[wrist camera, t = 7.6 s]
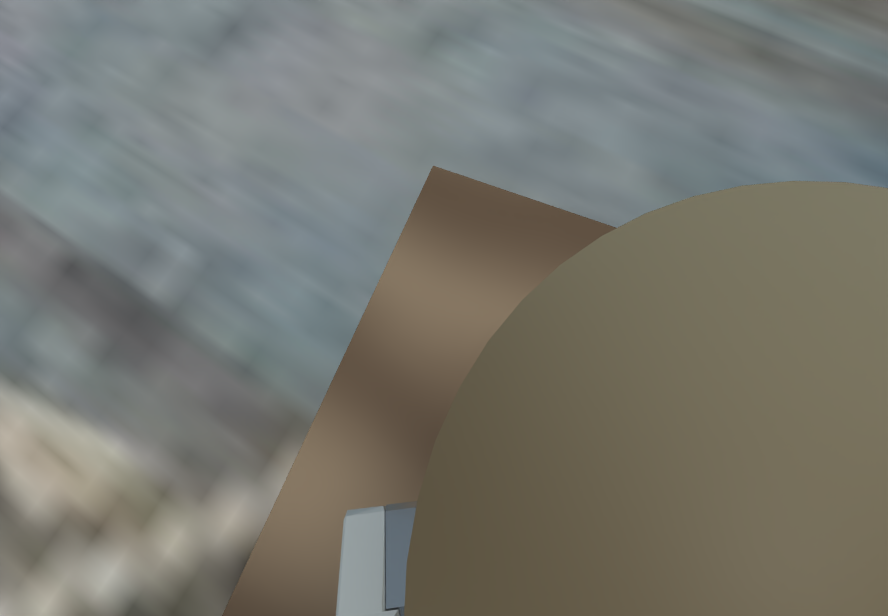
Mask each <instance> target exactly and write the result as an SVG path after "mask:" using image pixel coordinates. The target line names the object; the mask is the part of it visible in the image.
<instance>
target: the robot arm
mask: <svg viewBox="0 0 888 616" xmlns="http://www.w3.org/2000/svg"><path fill="white" fill-rule="evenodd" d="M416 505H417V501H412V502H403V503H395V504H387V505H386V506H378V507H369V508H361V509H353V510H347V513H346V515H345V517H344V522H343V534H342V546H341V558H340V571H339V583H338V595H337V607H336V616H404V608H405V587H406V566H407V558H408V552H409V546H410V540H411V534H412V529H413V523H414V517H415V511H416Z"/></svg>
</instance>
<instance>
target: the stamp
mask: <svg viewBox="0 0 888 616" xmlns="http://www.w3.org/2000/svg"><path fill="white" fill-rule="evenodd" d="M404 616H888V188H883V187H875V186H868V185H861V184H854V183H846V182H812V181H788V182H777V183H767V184H756V185H745V186H739V187H734V188H730V189H725V190H720V191H716V192H711V193H707V194H702V195H698V196H693V197H690V198H687V199H685V200H682V201H679V202H676V203H673V204H671V205H668V206H665V207H662V208H659V209H657V210H654V211H651V212H648V213H646V214H644V215H642V216H640V217H638V218H636V219H634V220H632V221H630V222H628V223H626V224H624V225H622V226H620V227H618V228H616V229H614V230H612V231H610V232H609V233H607V234H605V235H603V236H601V237H599V238H598V239H597V240H595V241H594V242H592V243H591V244H589V245H588V246H587V247H585V248H584V249H582V250H581V251H579V252H578V253H577V254H575V255H574V256H572V257H571V258H569V259H568V260H566V261H565V262H564V263H562V264H561V265H559V266H558V267H557V268H556V269H555V270H554V271H553V272H552V273H551V274H550V275H549V276H548V277H546V278H545V279H544V280H543V281H542V282H541V283H540V284H539V285H538V286H537V287H536V288H535V289H533V290H532V291H531V292H530V293H529V294H528V295H527V296H526V297H525V298H524V299H523V300H522V301H521V302H520V303H519V304H518V306H517V307H516V308H515V309H514V310H513V312H512V313H511V314H510V315H509V316H508V318H507V319H506V320H505V321H504V322H503V324H502V325H501V326H500V327H499V329H498V330H497V331H496V332H495V333H494V335H493V336H492V337H491V338H490V339H489V341H488V342H487V344H486V345H485V347H484V349H483V350H482V352H481V353H480V355H479V357H478V358H477V360H476V361H475V363H474V365H473V366H472V368H471V369H470V371H469V373H468V374H467V376H466V378H465V379H464V381H463V382H462V384H461V386H460V387H459V389H458V391H457V394H456V396H455V398H454V400H453V402H452V405H451V407H450V409H449V411H448V414H447V416H446V418H445V420H444V422H443V425H442V427H441V429H440V431H439V434H438V436H437V438H436V440H435V443H434V447H433V450H432V453H431V456H430V460H429V463H428V466H427V470H426V473H425V476H424V479H423V483H422V486H421V489H420V493H419V496H418V499H417V505H416V511H415V517H414V523H413V529H412V534H411V540H410V546H409V552H408V558H407V566H406V587H405V608H404Z"/></svg>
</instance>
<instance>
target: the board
mask: <svg viewBox="0 0 888 616" xmlns="http://www.w3.org/2000/svg"><path fill="white" fill-rule="evenodd" d="M614 229H616V228H615V227H612V226H609V225H606V224H603V223H601V222H598V221H595V220H592V219H589V218H586V217H583V216H580V215H577V214H574V213H571V212H568V211H565V210H562V209H559V208H556V207H553V206H550V205H547V204H545V203H542V202H539V201H536V200H533V199H530V198H527V197H524V196H521V195H518V194H515V193H512V192H509V191H506V190H503V189H500V188H497V187H494V186H491V185H488V184H486V183H483V182H480V181H477V180H474V179H471V178H468V177H465V176H462V175H459V174H456V173H453V172H450V171H447V170H444V169H441V168H438V167H435V166H433V167H432V169H431V171H430V173H429V176H428V178H427V180H426V182H425V184H424V186H423V188H422V191H421V193H420V195H419V197H418V199H417V201H416V203H415V205H414V208H413V210H412V212H411V214H410V216H409V218H408V220H407V222H406V225H405V227H404V229H403V231H402V233H401V235H400V237H399V240H398V242H397V244H396V246H395V248H394V250H393V252H392V254H391V257H390V259H389V261H388V263H387V265H386V267H385V269H384V272H383V274H382V276H381V278H380V280H379V282H378V284H377V286H376V289H375V291H374V293H373V295H372V297H371V299H370V301H369V303H368V306H367V308H366V310H365V312H364V314H363V316H362V318H361V321H360V323H359V325H358V327H357V329H356V331H355V333H354V335H353V338H352V340H351V342H350V344H349V346H348V348H347V350H346V353H345V355H344V357H343V359H342V361H341V363H340V365H339V367H338V370H337V372H336V374H335V376H334V378H333V380H332V382H331V384H330V387H329V389H328V391H327V393H326V395H325V397H324V399H323V402H322V404H321V406H320V408H319V410H318V412H317V414H316V416H315V419H314V421H313V423H312V425H311V427H310V429H309V431H308V434H307V436H306V438H305V440H304V442H303V444H302V446H301V448H300V451H299V453H298V455H297V457H296V459H295V461H294V463H293V465H292V468H291V470H290V472H289V474H288V476H287V478H286V480H285V483H284V485H283V487H282V489H281V491H280V493H279V495H278V497H277V500H276V502H275V504H274V506H273V508H272V510H271V512H270V515H269V517H268V519H267V521H266V523H265V525H264V527H263V529H262V532H261V534H260V536H259V538H258V540H257V542H256V544H255V547H254V549H253V551H252V553H251V555H250V557H249V559H248V561H247V564H246V566H245V568H244V570H243V572H242V574H241V576H240V578H239V581H238V583H237V585H236V587H235V589H234V591H233V593H232V596H231V598H230V600H229V602H228V604H227V606H226V608H225V610H224V613H223V615H222V616H336V607H337V595H338V583H339V571H340V558H341V546H342V534H343V522H344V517H345V515H346V513H347V510H353V509H361V508H369V507H378V506H386V505H387V504H395V503H403V502H412V501H417V499H418V496H419V493H420V489H421V486H422V483H423V479H424V476H425V473H426V470H427V466H428V463H429V460H430V456H431V453H432V450H433V447H434V443H435V440H436V438H437V436H438V434H439V431H440V429H441V427H442V425H443V422H444V420H445V418H446V416H447V414H448V411H449V409H450V407H451V405H452V402H453V400H454V398H455V396H456V394H457V391H458V389H459V387H460V386H461V384H462V382H463V381H464V379H465V378H466V376H467V374H468V373H469V371H470V369H471V368H472V366H473V365H474V363H475V361H476V360H477V358H478V357H479V355H480V353H481V352H482V350H483V349H484V347H485V345H486V344H487V342H488V341H489V339H490V338H491V337H492V336H493V335H494V333H495V332H496V331H497V330H498V329H499V327H500V326H501V325H502V324H503V322H504V321H505V320H506V319H507V318H508V316H509V315H510V314H511V313H512V312H513V310H514V309H515V308H516V307H517V306H518V304H519V303H520V302H521V301H522V300H523V299H524V298H525V297H526V296H527V295H528V294H529V293H530V292H531V291H532V290H533V289H535V288H536V287H537V286H538V285H539V284H540V283H541V282H542V281H543V280H544V279H545V278H546V277H548V276H549V275H550V274H551V273H552V272H553V271H554V270H555V269H556V268H557V267H558V266H559V265H561V264H562V263H564V262H565V261H566V260H568V259H569V258H571V257H572V256H574V255H575V254H577V253H578V252H579V251H581V250H582V249H584V248H585V247H587V246H588V245H589V244H591V243H592V242H594V241H595V240H597V239H598V238H599V237H601V236H603V235H605V234H607V233H609V232H610V231H612V230H614Z"/></svg>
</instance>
